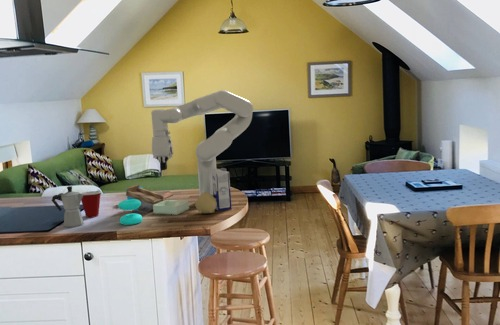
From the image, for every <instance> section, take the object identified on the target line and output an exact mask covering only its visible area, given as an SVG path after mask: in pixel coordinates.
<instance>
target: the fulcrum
mask: <svg viewBox="0 0 500 325" xmlns="http://www.w3.org/2000/svg"><path fill="white" fill-rule="evenodd" d="M140 202H141V205H140V207H138V208H137V209H134V210H131V213H136V214H147V213H150V212H152V211H153V205H154V204H153V205H152V204H149V203H146V202H143V201H140Z"/></svg>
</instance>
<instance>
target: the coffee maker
mask: <svg viewBox="0 0 500 325" xmlns="http://www.w3.org/2000/svg"><path fill="white" fill-rule="evenodd" d="M66 189H67V192H65V193H62V192H60V193H58V194H55V195H53V196H52V198H51V201H52V202H51V203H53V205H55V206H56V208H57V210H58V211H59V212H61V211H62V207H63V209H64V210H65V211H64V212H63V213H64V214H63V227H64V228H67V229H69V228H76V227H81V226H83V225H84V224H85V222H84V219H83V215H82V212H81V210H80V208H81V203H82V201H81V200H82V197H83V195H84V194H80V193H81V192H79V191H73V186H72V185H70V186H66ZM56 200H57V201H61V203H62V207H61V206H60V204H58V202H57V201H56Z"/></svg>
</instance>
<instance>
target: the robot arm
mask: <svg viewBox="0 0 500 325" xmlns="http://www.w3.org/2000/svg"><path fill="white" fill-rule="evenodd" d="M220 109H224V110H226V111H228V112H230V113H232V114H235V115H234V117H232V118H231V120H229V121H228V122H227V123H226V124H224V125H223V126H222V127H220V128H218V129H217V130H216V131H215V132H214V133H213V134H212V135H211V136H209V137H208V138H207V139H205V140H202V141H200V142H199V143H198V144H197V146H196V149H195V156H196V160H197V162H196V163H197V174H198V175H197V176H198V177H197V178H198V188H199V189H198V190H199V191H198V192H199V196H200V195H201V194H202V193H203V192H208V193H210V194H212V195H213V184H212V170H211V168H214V169H217V158H216V157H217V156H219V155H220V154H221V153H223V152H224V151H225V150H228V148H229V147H230V146H231V144H233V140H235V139H237V137H239V136H240V135H241V134H242V133H243V132H244V131H246V130H247V128H248V127H249V126H250V124H251V122H252V120H253V111H254V105H253V104H252V102H251V101H249V100H248V99H246V98H243V97H241V96H238V95H236V94H234V93H232V92H229V91H228V90H225V89H222V90H218V91H216V92H212V93H210V94H206V95H204V96H200V97H198V98H195V99H194V100H191V101H189V102H186V103H183V104H180V105H177V106H175V107H172V108H169V109H163V108H160V109H153V110H152V111H151V112H150V113H151V123H152V125H151V126H152V135H153V136H152V138H151V153H152V156H153V157H152V158H153V159H155V160H157V161H158V163H159V168H160V171H166V170H168V160H169V159H170V160H171V159H173V156H174V148H173V142H172V139H171V136H170V135H171V131H169V127H168V126H169V125H168V124H178V123H179V122H181V121H184V120H186V119H189V118H193V117H195V116H201V115H202V116H203V115H206V114H208V113H209V114H210V113H212V112H214V111H217V110H220Z"/></svg>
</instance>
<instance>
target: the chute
mask: <svg viewBox="0 0 500 325" xmlns="http://www.w3.org/2000/svg"><path fill="white" fill-rule="evenodd" d="M139 186H140V184H135V185H131V186H129V187H126V188H127V191H126V190H125V191H126V193H125V196H126V197H127V196H129V197H132V198H135V199H138V200H140V201H143V202H146V203H149V204H152V205H155V204H158V203H160V202H162V201H165V200H167V199H169V198H171V197H174V194H173V193H172V192H165V193H164V194H160V193H157V192H154V191H152V190H148V189H145V188H143V187H142V188H139Z"/></svg>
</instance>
